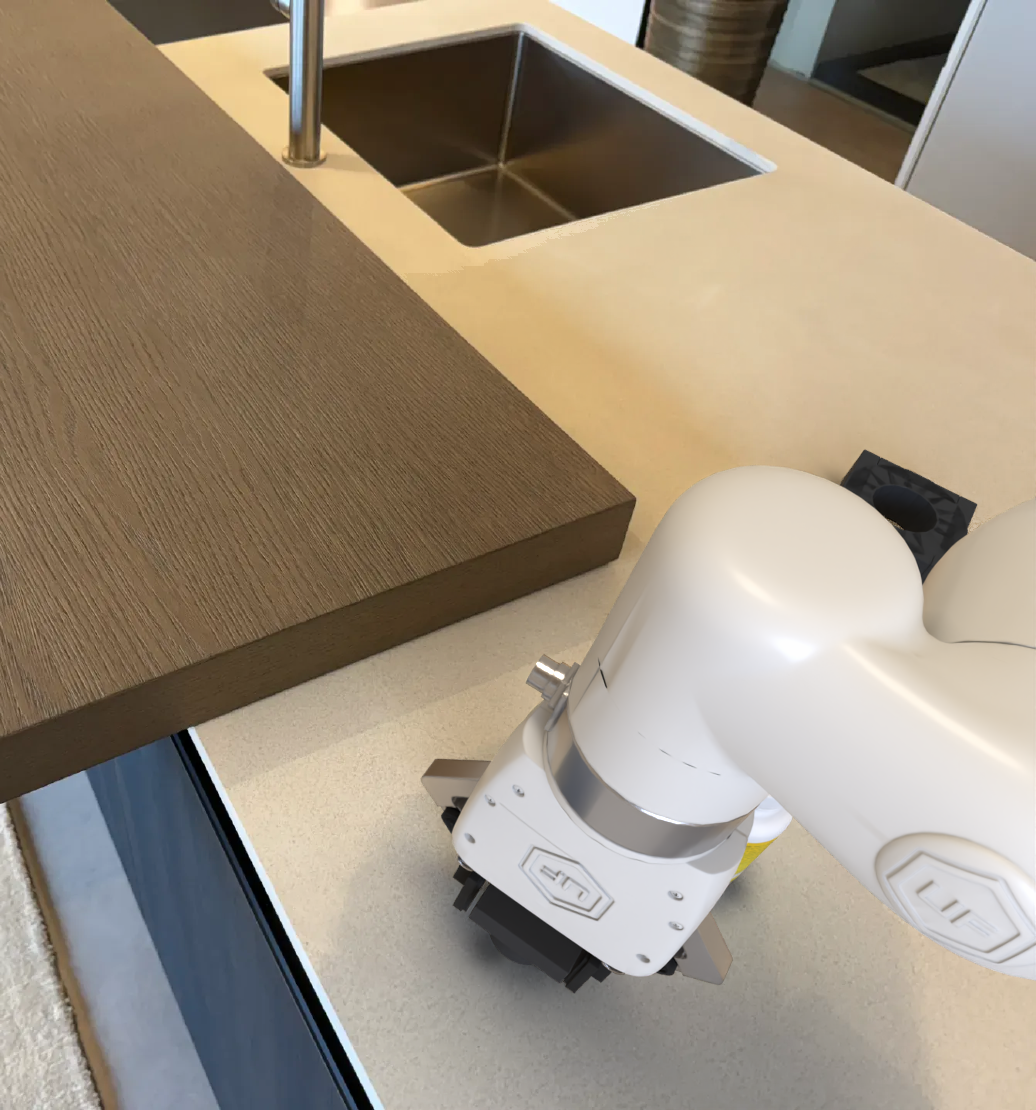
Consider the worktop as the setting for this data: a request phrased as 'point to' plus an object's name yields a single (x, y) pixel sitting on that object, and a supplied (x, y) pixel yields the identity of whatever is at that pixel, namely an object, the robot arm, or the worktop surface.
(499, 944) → the top pad
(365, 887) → the worktop surface
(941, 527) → the base pad
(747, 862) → the supplement bottle
